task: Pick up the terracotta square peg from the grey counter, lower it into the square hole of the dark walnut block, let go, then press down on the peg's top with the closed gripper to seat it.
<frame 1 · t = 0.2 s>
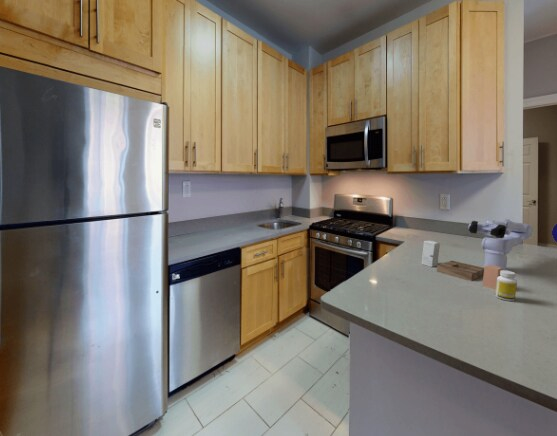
hand: (480, 230, 108), 21 cm above the countertop, tool horizontal, fingers open, 7 cm apart
supplement bottle: (504, 298, 93), on the countertop
skincare box: (429, 265, 131), on the countertop
walnut socket block: (460, 272, 119), on the countertop
terracotta peg: (491, 286, 103), on the countertop
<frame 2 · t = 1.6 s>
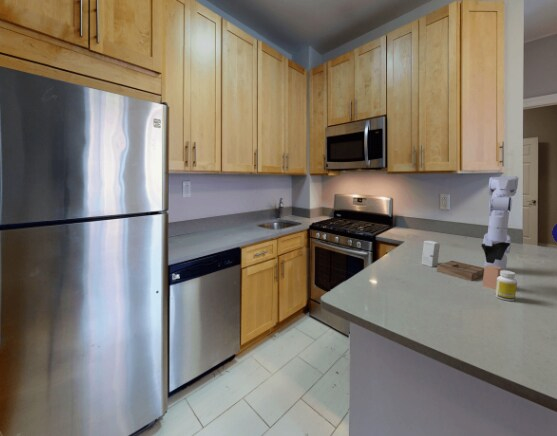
hand: (494, 261, 102), 10 cm above the countertop, tool pointing down, fingers open, 7 cm apart
nothing on the countertop moved.
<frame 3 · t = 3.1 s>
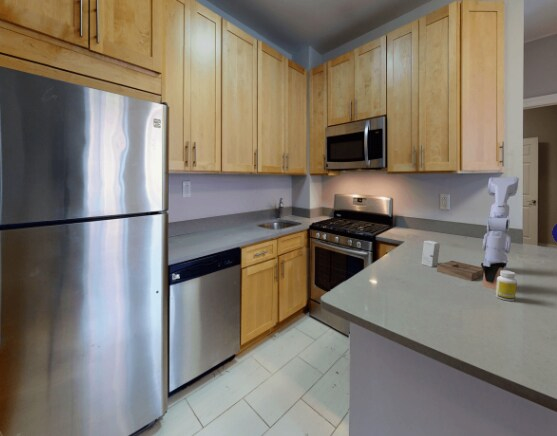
hand: (491, 280, 103), 2 cm above the countertop, tool pointing down, fingers closed on terracotta peg, 4 cm apart
terracotta peg: (491, 286, 103), on the countertop, touching gripper
everything else where it was.
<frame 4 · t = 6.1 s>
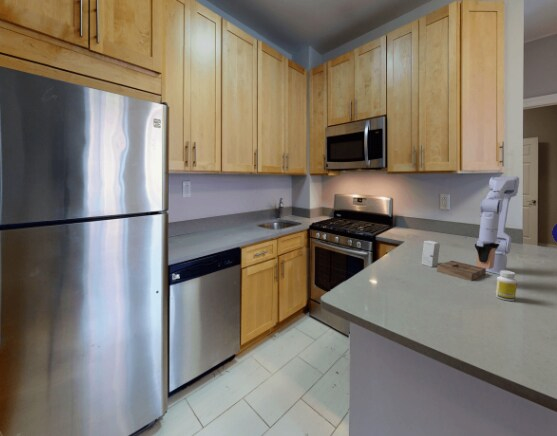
hand: (485, 261, 106), 9 cm above the countertop, tool pointing down, fingers closed on terracotta peg, 4 cm apart
terracotta peg: (484, 266, 106), point 7 cm above the countertop, touching gripper
everything else where it was.
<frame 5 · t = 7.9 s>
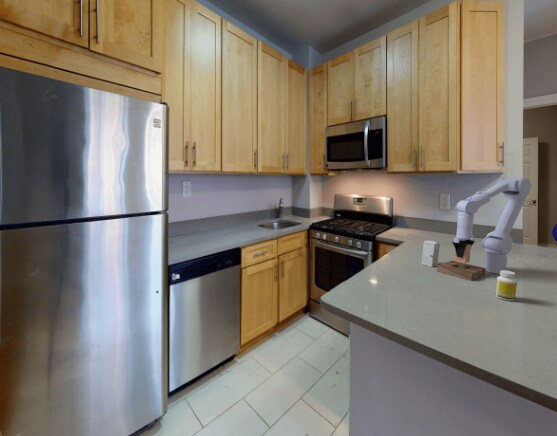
hand: (462, 256, 118), 8 cm above the countertop, tool pointing down, fingers closed on terracotta peg, 4 cm apart
terracotta peg: (461, 261, 118), point 6 cm above the countertop, touching gripper
everything else where it was.
when the fingers open (4 cm above the countertop, at t = 9.2 s): terracotta peg drops 1 cm, resting in walnut socket block.
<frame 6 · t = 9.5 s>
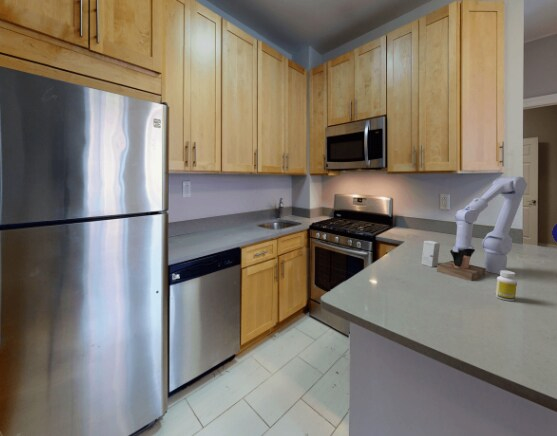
hand: (461, 264, 118), 4 cm above the countertop, tool pointing down, fingers open, 7 cm apart
terracotta peg: (460, 273, 119), resting in walnut socket block
everything else where it was.
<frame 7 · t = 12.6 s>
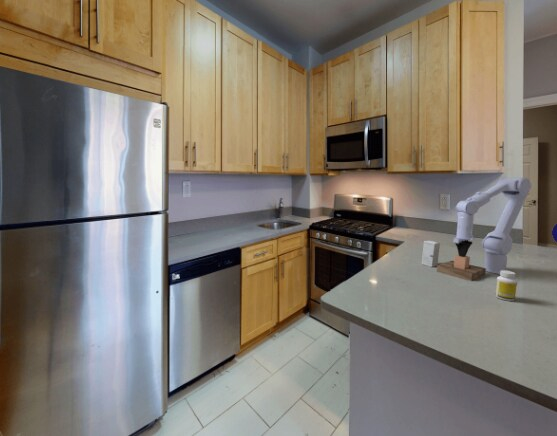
hand: (462, 256, 118), 8 cm above the countertop, tool pointing down, fingers closed, pressing on terracotta peg
terracotta peg: (460, 273, 119), resting in walnut socket block, touching gripper
everything else where it was.
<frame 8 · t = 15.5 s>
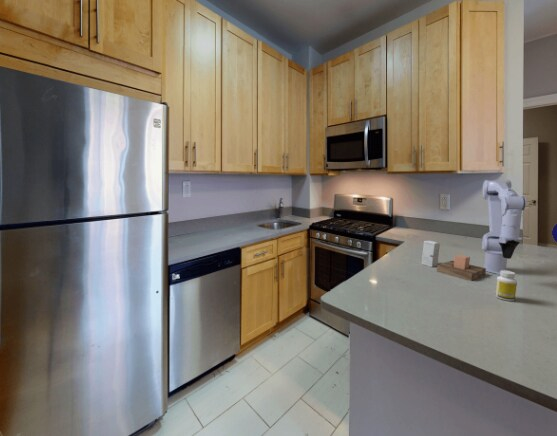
hand: (507, 258, 106), 10 cm above the countertop, tool pointing down, fingers closed
terracotta peg: (460, 273, 119), resting in walnut socket block
everything else where it was.
at the end: terracotta peg 0.0 cm off-centre on the walnut socket block, point 0.0 cm above the walnut socket block's base; terracotta peg tilted 0°; the gripper is holding nothing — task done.
